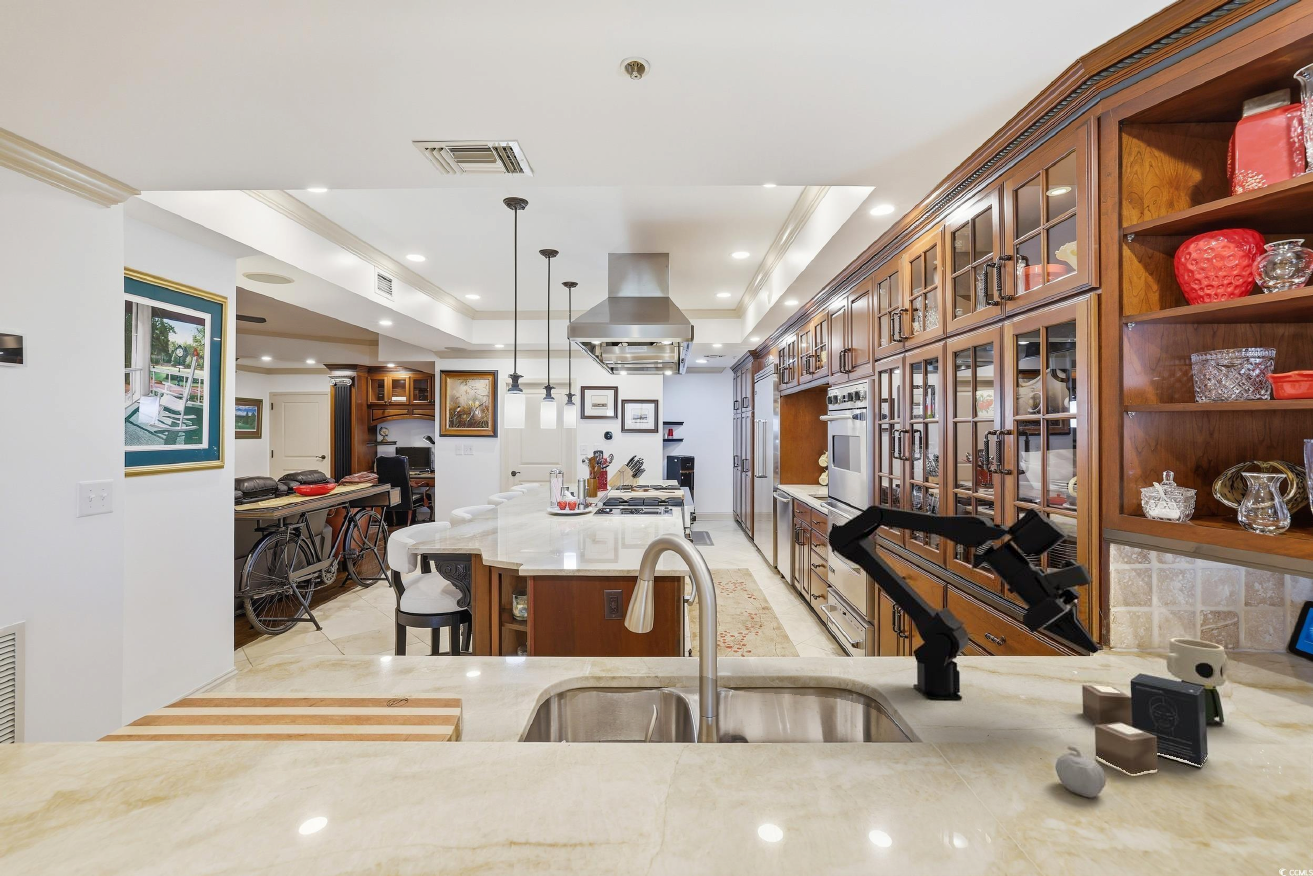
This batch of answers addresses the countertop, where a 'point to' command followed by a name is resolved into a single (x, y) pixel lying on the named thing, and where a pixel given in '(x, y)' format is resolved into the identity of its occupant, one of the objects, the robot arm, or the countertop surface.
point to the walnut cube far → (1106, 705)
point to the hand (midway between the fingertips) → (1096, 651)
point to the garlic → (1080, 773)
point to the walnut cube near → (1126, 747)
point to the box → (1171, 716)
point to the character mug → (1200, 670)
